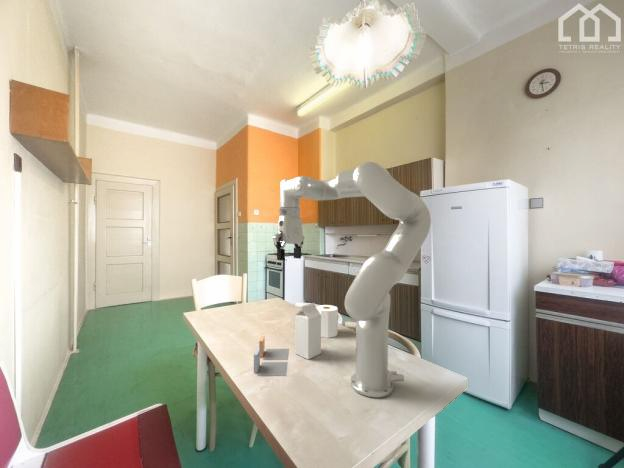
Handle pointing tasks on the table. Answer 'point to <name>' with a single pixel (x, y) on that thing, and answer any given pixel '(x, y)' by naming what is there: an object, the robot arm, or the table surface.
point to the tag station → (270, 354)
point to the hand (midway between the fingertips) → (289, 259)
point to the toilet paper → (328, 320)
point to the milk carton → (308, 332)
